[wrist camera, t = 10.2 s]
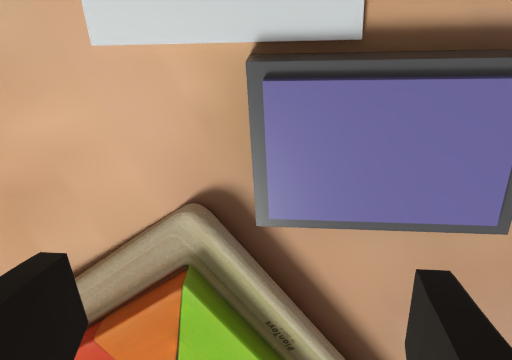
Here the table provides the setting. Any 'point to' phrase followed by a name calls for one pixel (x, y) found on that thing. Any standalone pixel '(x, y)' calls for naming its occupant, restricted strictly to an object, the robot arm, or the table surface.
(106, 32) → the card sheet
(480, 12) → the table surface
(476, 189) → the ink pad
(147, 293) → the wooden puzzle
